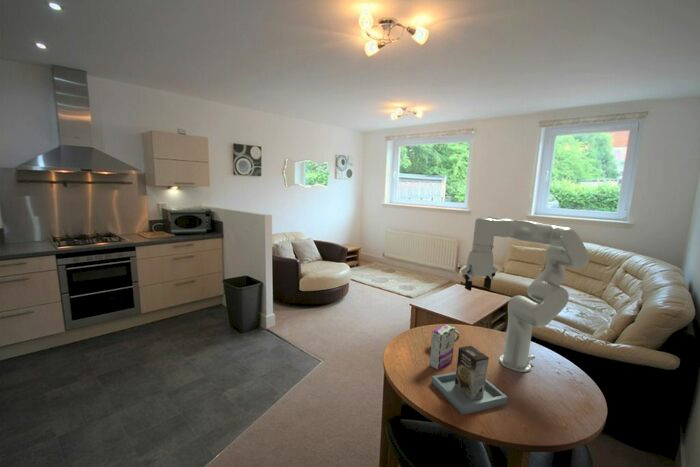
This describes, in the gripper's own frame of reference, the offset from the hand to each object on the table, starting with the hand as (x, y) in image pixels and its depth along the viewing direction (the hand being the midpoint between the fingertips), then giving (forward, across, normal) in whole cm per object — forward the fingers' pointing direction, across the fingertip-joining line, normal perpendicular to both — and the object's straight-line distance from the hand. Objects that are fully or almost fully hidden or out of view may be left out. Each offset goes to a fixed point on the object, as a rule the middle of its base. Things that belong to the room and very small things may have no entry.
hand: (477, 288), depth 129 cm
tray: (+36, +11, +13) cm, 40 cm away
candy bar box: (+36, +9, -7) cm, 38 cm away
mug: (+36, -1, -18) cm, 41 cm away
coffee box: (+36, +11, +13) cm, 39 cm away
